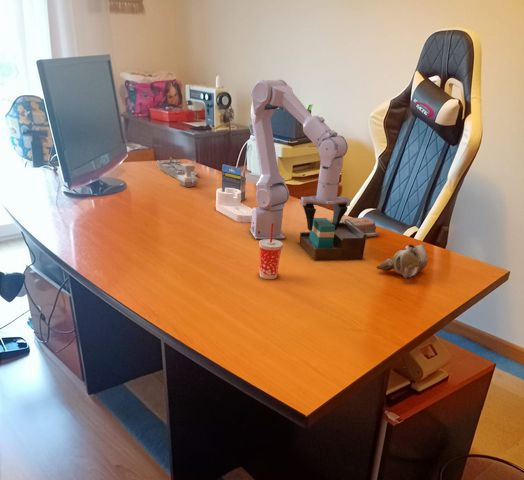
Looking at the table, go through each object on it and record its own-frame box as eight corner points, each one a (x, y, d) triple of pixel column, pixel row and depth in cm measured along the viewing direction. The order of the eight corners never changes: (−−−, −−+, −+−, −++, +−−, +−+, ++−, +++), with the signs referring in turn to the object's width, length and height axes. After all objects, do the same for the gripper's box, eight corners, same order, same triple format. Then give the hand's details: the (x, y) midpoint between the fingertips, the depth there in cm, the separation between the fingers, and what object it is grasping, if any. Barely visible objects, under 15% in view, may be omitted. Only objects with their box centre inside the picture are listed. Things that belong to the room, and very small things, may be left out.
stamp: (200, 187, 211) (200, 166, 206) (186, 189, 207) (186, 167, 203) (189, 182, 217) (189, 161, 212) (175, 183, 213) (175, 162, 209)
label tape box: (245, 199, 200) (247, 166, 193) (239, 201, 197) (241, 168, 190) (226, 195, 203) (228, 162, 197) (220, 197, 200) (221, 164, 194)
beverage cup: (272, 282, 133) (276, 229, 126) (252, 276, 136) (255, 223, 129) (283, 275, 138) (289, 223, 131) (264, 269, 140) (268, 218, 133)
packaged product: (363, 213, 177) (381, 222, 170) (361, 227, 180) (378, 237, 172) (319, 217, 170) (335, 226, 162) (317, 231, 172) (333, 241, 165)
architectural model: (178, 180, 219) (178, 167, 217) (153, 167, 236) (152, 155, 234) (202, 178, 225) (203, 165, 223) (176, 165, 242) (176, 154, 240)
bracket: (211, 207, 188) (212, 188, 184) (232, 205, 192) (233, 186, 189) (240, 223, 174) (241, 203, 170) (262, 220, 178) (263, 201, 175)
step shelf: (314, 260, 149) (318, 235, 145) (299, 243, 161) (301, 219, 157) (362, 259, 153) (366, 234, 149) (343, 242, 165) (347, 219, 161)
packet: (317, 248, 151) (320, 226, 147) (308, 238, 157) (311, 217, 154) (332, 247, 152) (335, 226, 149) (322, 238, 159) (325, 217, 155)
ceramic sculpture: (441, 243, 142) (412, 258, 133) (435, 273, 147) (406, 288, 138) (408, 233, 148) (377, 246, 139) (403, 261, 153) (373, 276, 144)
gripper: (308, 185, 140) (302, 234, 147) (357, 186, 144) (349, 233, 151) (300, 179, 146) (295, 226, 153) (348, 180, 150) (340, 225, 157)
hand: (321, 229), depth 153 cm, fingers open, 7 cm apart
